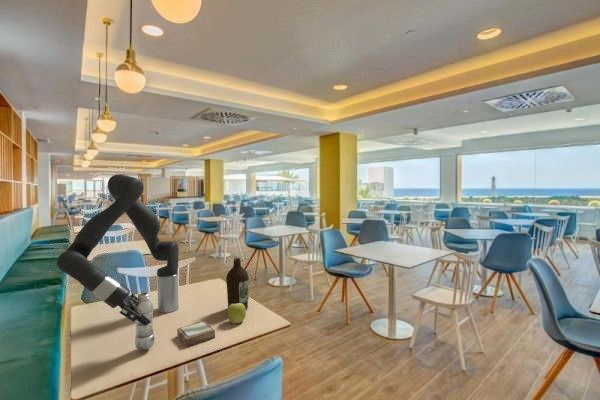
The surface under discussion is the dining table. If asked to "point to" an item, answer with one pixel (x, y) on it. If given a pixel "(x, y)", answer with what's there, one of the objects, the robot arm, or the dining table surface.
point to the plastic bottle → (143, 332)
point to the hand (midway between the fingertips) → (149, 319)
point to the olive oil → (237, 284)
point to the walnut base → (195, 333)
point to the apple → (236, 313)
